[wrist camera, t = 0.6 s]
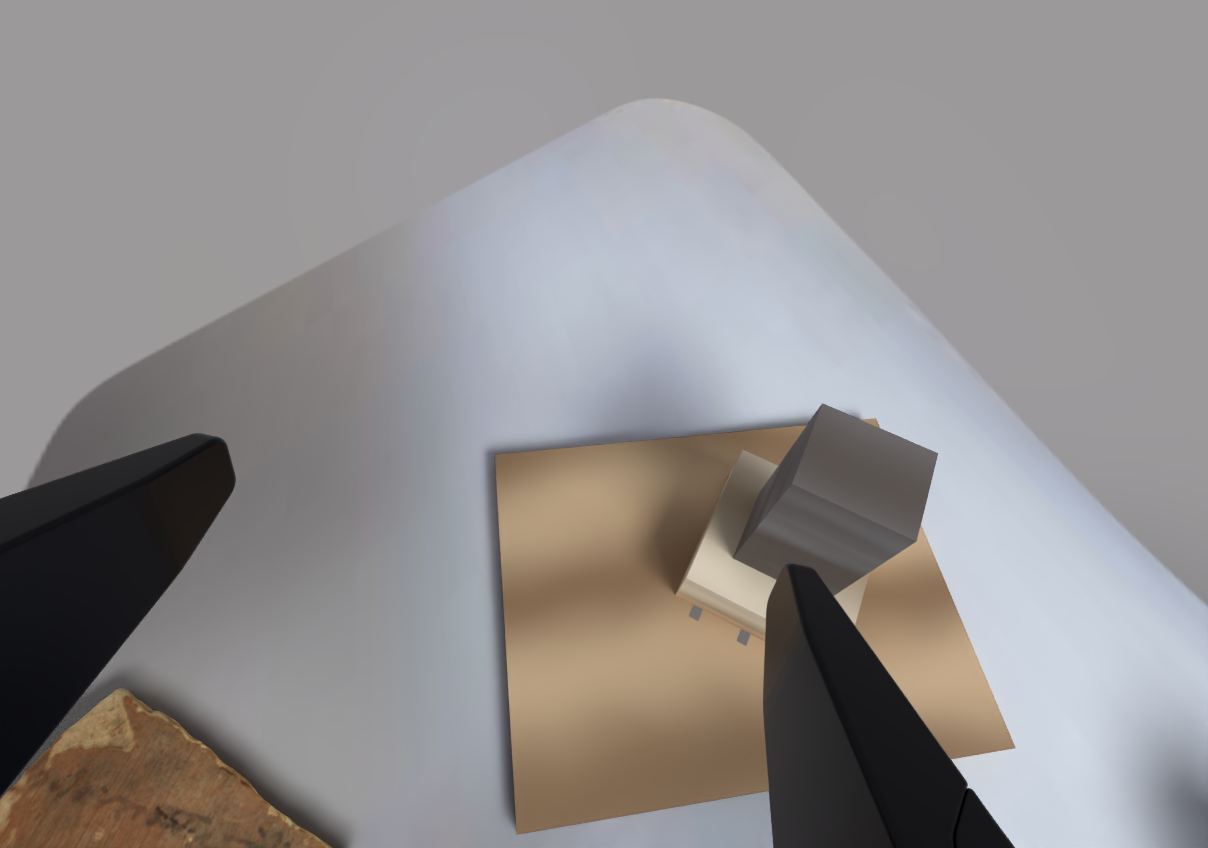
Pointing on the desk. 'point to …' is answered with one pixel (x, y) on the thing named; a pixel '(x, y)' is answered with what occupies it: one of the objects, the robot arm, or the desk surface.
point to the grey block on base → (810, 518)
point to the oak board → (675, 634)
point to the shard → (138, 790)
